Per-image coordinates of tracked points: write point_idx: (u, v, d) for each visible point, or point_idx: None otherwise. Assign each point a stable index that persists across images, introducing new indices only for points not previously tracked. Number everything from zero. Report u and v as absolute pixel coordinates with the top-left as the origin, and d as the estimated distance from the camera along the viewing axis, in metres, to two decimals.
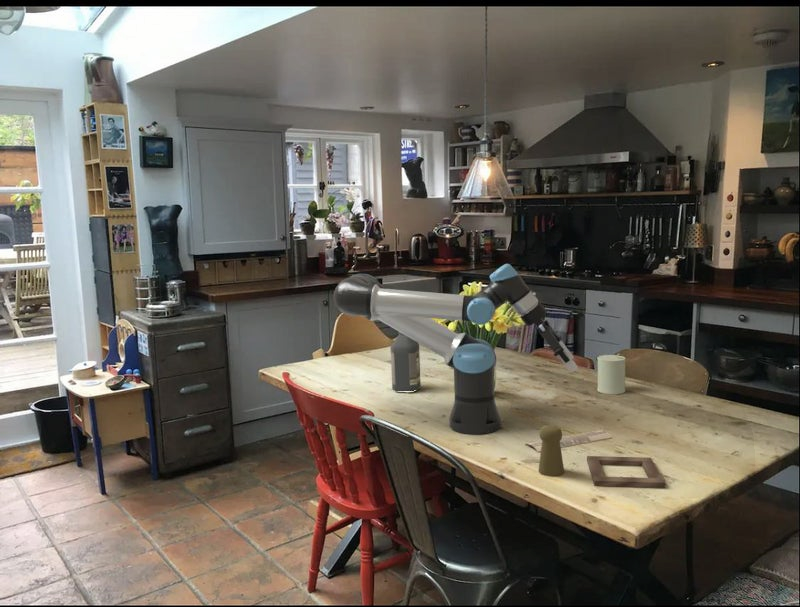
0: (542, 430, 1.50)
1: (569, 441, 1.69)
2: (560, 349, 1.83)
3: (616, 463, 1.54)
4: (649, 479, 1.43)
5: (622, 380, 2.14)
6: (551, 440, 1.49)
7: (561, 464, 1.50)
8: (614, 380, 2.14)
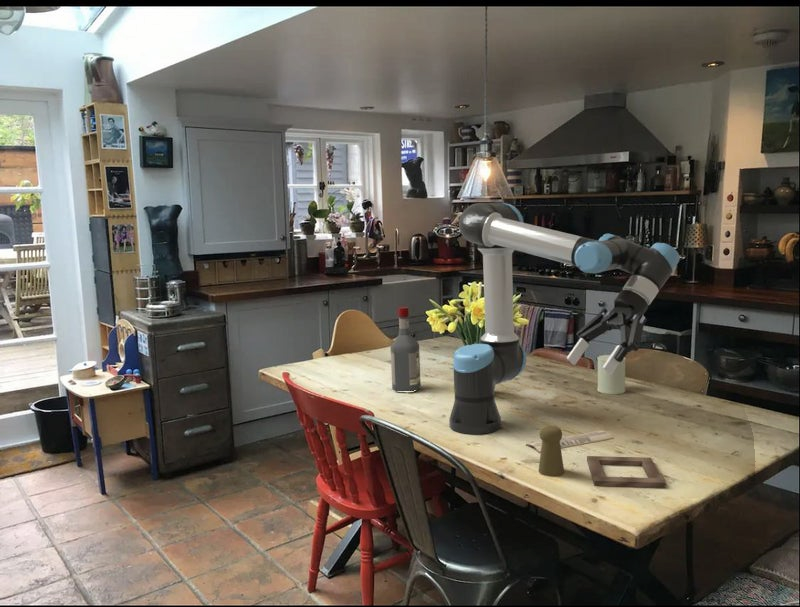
0: (542, 430, 1.50)
1: (570, 441, 1.69)
2: (637, 347, 1.46)
3: (616, 463, 1.54)
4: (649, 479, 1.43)
5: (622, 380, 2.14)
6: (551, 440, 1.49)
7: (561, 464, 1.50)
8: (614, 380, 2.14)
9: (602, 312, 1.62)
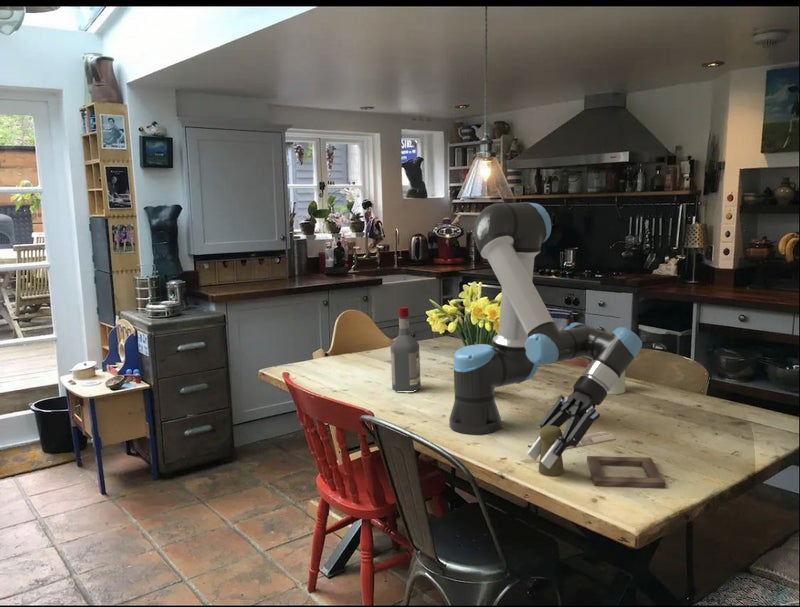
0: (542, 430, 1.50)
1: None
2: (575, 443, 1.46)
3: (616, 463, 1.54)
4: (649, 479, 1.43)
5: (622, 380, 2.14)
6: (551, 440, 1.49)
7: (561, 464, 1.50)
8: None
9: (560, 399, 1.58)
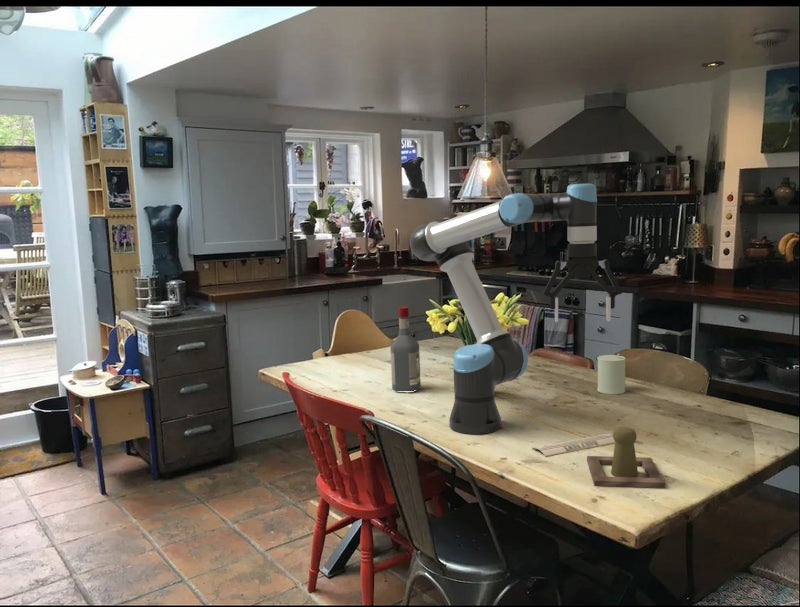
0: (616, 432, 1.47)
1: (577, 445, 1.66)
2: None
3: None
4: (649, 479, 1.43)
5: (622, 380, 2.14)
6: (626, 441, 1.46)
7: (635, 466, 1.47)
8: (614, 380, 2.14)
9: (559, 266, 1.71)
